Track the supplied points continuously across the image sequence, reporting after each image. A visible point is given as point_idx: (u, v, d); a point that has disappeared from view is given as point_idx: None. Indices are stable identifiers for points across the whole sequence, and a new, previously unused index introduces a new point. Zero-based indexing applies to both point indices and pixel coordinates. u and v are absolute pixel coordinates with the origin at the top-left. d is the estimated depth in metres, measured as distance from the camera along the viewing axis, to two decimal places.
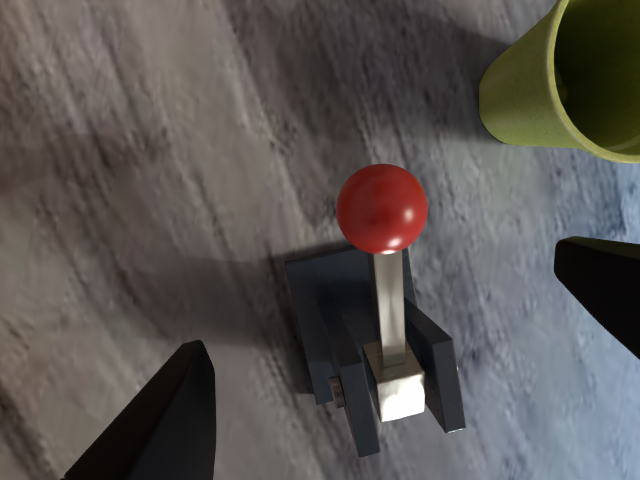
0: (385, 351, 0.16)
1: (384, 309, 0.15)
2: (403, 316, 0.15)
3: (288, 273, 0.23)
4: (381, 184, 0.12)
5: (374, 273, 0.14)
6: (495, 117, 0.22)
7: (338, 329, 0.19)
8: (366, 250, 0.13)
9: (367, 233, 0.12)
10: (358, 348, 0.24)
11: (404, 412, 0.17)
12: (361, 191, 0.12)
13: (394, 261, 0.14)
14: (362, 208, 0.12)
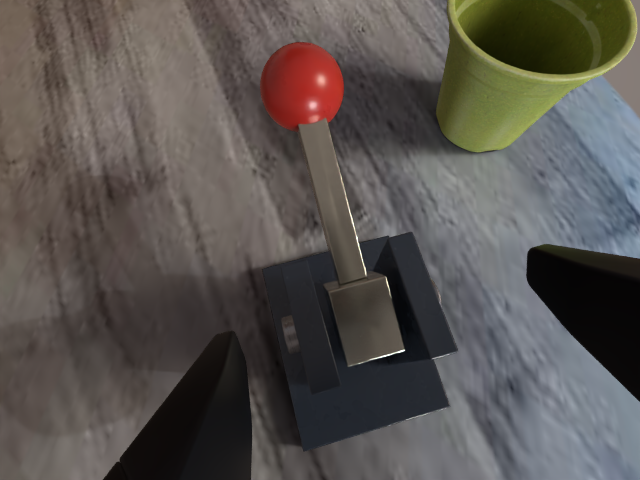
0: (337, 256, 0.14)
1: (322, 194, 0.14)
2: (347, 205, 0.14)
3: (265, 277, 0.22)
4: (288, 44, 0.13)
5: (304, 150, 0.14)
6: (451, 120, 0.24)
7: None
8: (285, 109, 0.13)
9: (278, 80, 0.13)
10: (351, 366, 0.20)
11: (376, 348, 0.13)
12: None
13: (321, 133, 0.14)
14: (272, 61, 0.13)
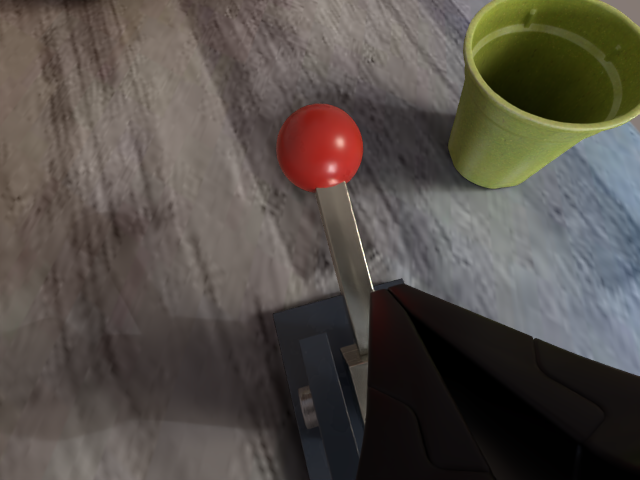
0: (356, 326, 0.13)
1: (341, 261, 0.13)
2: (367, 272, 0.13)
3: (276, 323, 0.21)
4: (306, 107, 0.13)
5: (322, 214, 0.13)
6: (465, 158, 0.24)
7: None
8: (303, 174, 0.13)
9: (296, 146, 0.12)
10: None
11: None
12: (290, 117, 0.13)
13: (340, 197, 0.13)
14: (290, 126, 0.12)
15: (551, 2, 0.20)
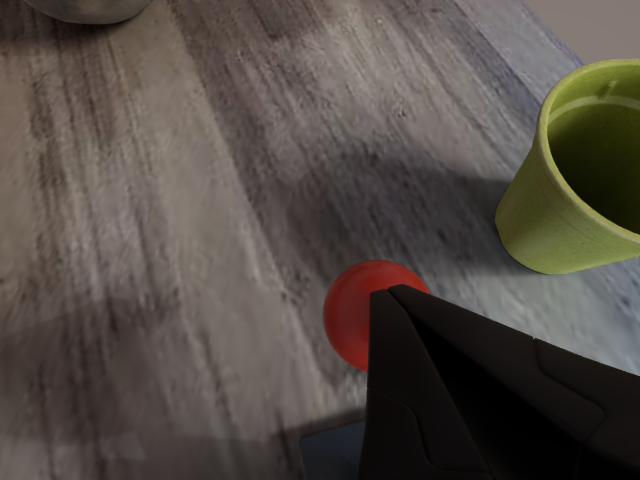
0: None
1: None
2: None
3: (303, 452, 0.18)
4: (365, 272, 0.10)
5: None
6: (520, 243, 0.20)
7: None
8: (362, 363, 0.10)
9: (355, 333, 0.09)
10: None
11: None
12: (343, 284, 0.10)
13: None
14: (345, 301, 0.10)
15: (636, 74, 0.17)
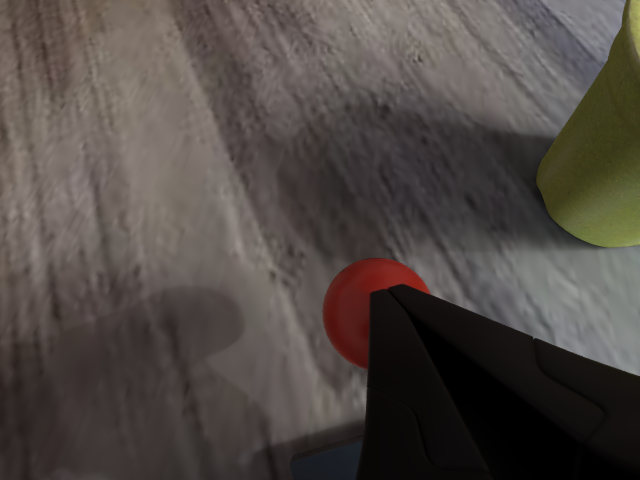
0: None
1: None
2: None
3: (295, 479, 0.13)
4: (357, 261, 0.11)
5: None
6: (576, 206, 0.16)
7: None
8: (358, 341, 0.09)
9: (347, 303, 0.09)
10: None
11: None
12: (338, 274, 0.11)
13: None
14: (338, 282, 0.10)
15: None
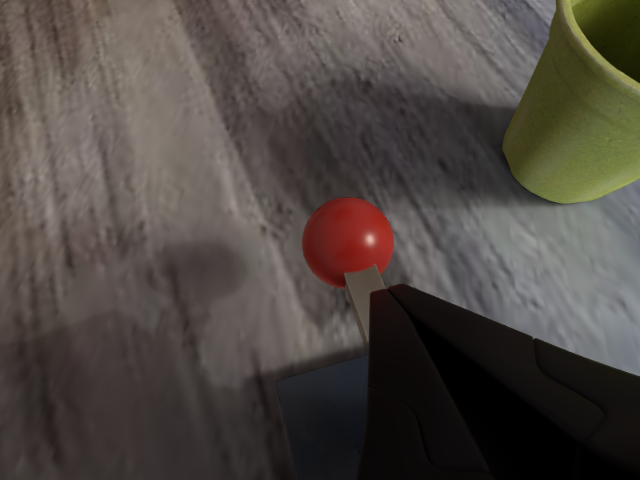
0: None
1: None
2: None
3: (280, 394, 0.15)
4: None
5: (352, 300, 0.11)
6: (532, 163, 0.18)
7: (348, 467, 0.10)
8: (328, 256, 0.12)
9: (319, 226, 0.12)
10: None
11: None
12: (315, 211, 0.13)
13: (372, 280, 0.11)
14: (313, 214, 0.12)
15: None
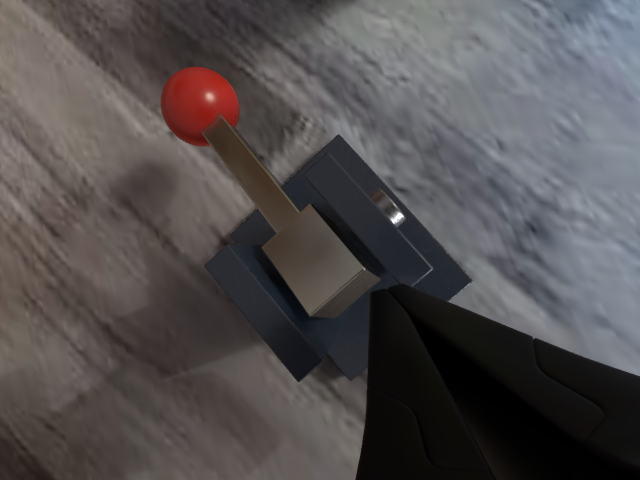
0: (268, 216, 0.13)
1: (237, 170, 0.14)
2: (261, 167, 0.13)
3: (237, 242, 0.20)
4: None
5: (212, 147, 0.14)
6: None
7: None
8: (181, 124, 0.15)
9: (164, 106, 0.15)
10: None
11: (331, 281, 0.11)
12: None
13: (219, 125, 0.14)
14: None
15: None
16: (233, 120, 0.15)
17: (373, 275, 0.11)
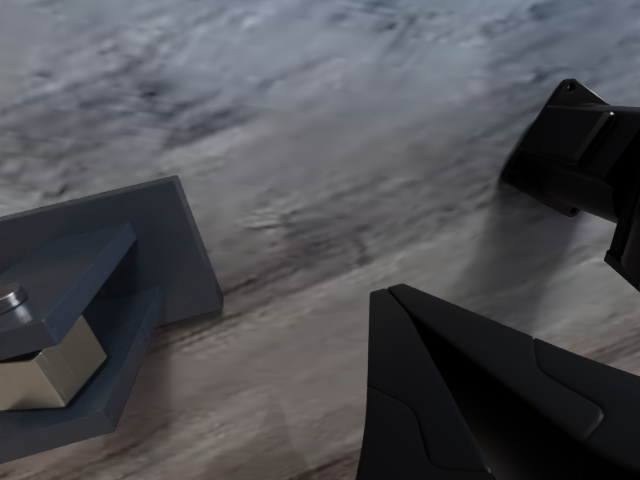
0: None
1: None
2: None
3: None
4: None
5: None
6: None
7: None
8: None
9: None
10: (142, 272, 0.20)
11: (38, 384, 0.12)
12: None
13: None
14: None
15: None
16: None
17: None
